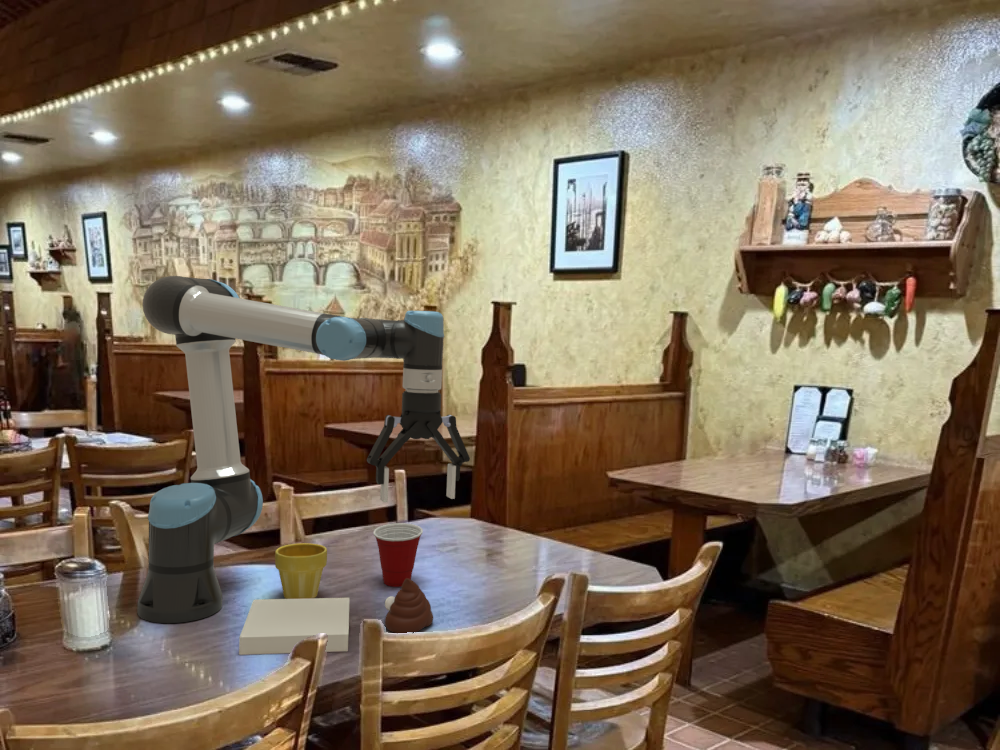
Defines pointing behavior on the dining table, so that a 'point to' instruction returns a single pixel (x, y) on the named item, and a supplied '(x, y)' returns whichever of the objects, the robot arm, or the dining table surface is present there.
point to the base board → (294, 624)
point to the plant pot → (300, 569)
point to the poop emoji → (408, 609)
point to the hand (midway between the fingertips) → (417, 499)
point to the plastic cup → (397, 551)
